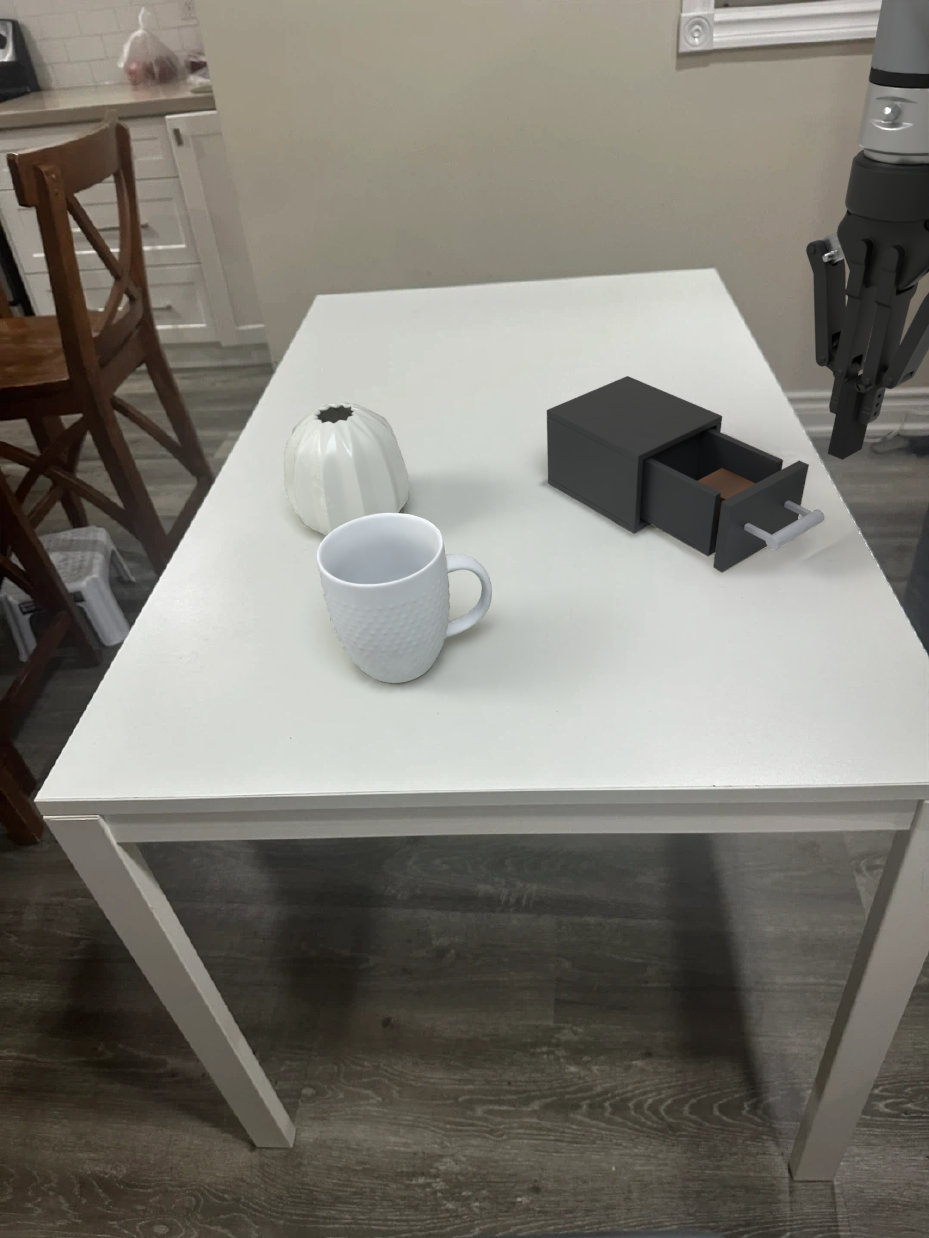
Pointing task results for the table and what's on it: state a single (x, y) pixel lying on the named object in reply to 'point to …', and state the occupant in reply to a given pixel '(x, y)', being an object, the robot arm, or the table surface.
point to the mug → (393, 593)
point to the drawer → (744, 517)
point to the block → (725, 485)
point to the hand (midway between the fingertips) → (844, 451)
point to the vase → (343, 467)
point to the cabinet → (617, 443)
